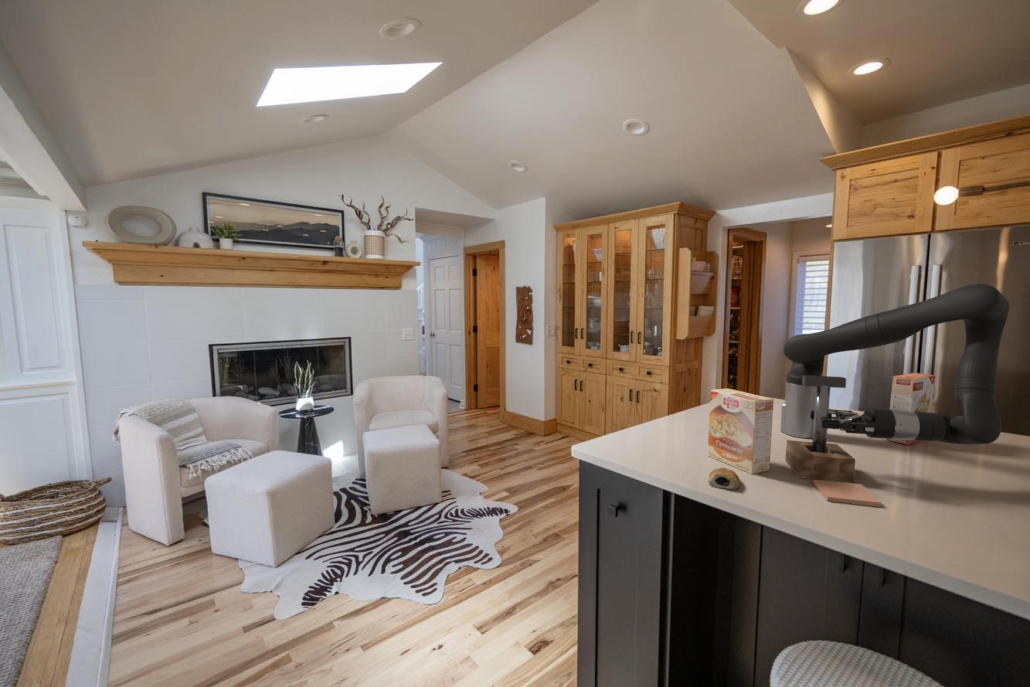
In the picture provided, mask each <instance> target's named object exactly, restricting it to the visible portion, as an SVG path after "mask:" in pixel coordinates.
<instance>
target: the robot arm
mask: <svg viewBox="0 0 1030 687" xmlns="http://www.w3.org/2000/svg"><path fill="white" fill-rule="evenodd" d="M1010 308H1011V307H1010V303H1009V300H1008V299H1007V298H1006V297H1005V295H1003V293H1002V292H1000V290H998V288H996V287H995V286H993V285H991V284H990V285H989V284H987V283H972V284H967V285H964V286H961V287H959V288H955V289H952V290H950V291H947V292H945V293H941V294H940V295H936V296H934V297H931V298H929V299H926V300H921V301H919V302H918V301H917V302H915V303H911V304H907V305H904V306H901V307H897V308H893V309H892V308H891V309H889V310H885V311H881V312H877V313H874V314H870V315H866V316H863V317H861V318H857V319H855V320H851V321H848V322H846V323H843V324H840V325H837V326H835V327H832V328H828V329H825V330H822V331H818V332H817V331H816V332H811V333H805V334H797V335H794V336H792V337H790V338H789V339H788V340H787V341H786V342H785V344H784V346H783V354H784V357H785V358H787V359H788V360H789V361H791V362H792V365H791V367H790V369H789V371H788V372H787V374H786V383H785V396H784V397H785V398H784V399H785V400H784V403H782V404H781V416H780V418H781V419H780V432H782V433H784V434H786V435H789V436H791V437H796V438H801V439H802V438H803V439H811V438H812V439H813V428H814V413H815V398H816V387H814V386H804V385H802V377H803V375H807V376H823V373H824V364H825V356H828V355H829V356H830V355H832V354H836V353H843V352H850V351H860V350H865V349H866V350H867V349H870V348H871V349H872V348H878V347H881V346H887V345H890V344H895V343H899V342H901V341H903V340H906V339H908V338H910V337H912V336H914V335H915V334H917V333H918V332H921V331H923V330H925V329H927V328H928V327H932V326H935V325H940V324H944V323H948V322H949V323H950V322H953V321H961V320H962V321H963V324H964V330H965V345H964V349H963V352H962V355H961V357H960V360H959V362H958V365H957V368H956V372H955V373H956V375H955V383H954V384H955V385H954V399H955V401H956V402H957V403H959V404H961V405H962V408H963V414H961V415H946V414H945V415H944V414H942V415H941V414H938V413H936V412H932V411H931V412H917V411H907V410H900V409H890V408H883V407H882V408H881V407H880V408H879V407H868V408H865V410H864V411H863V414H859V413H858V412H855V411H852V410H847V409H846V410H843V409H831V408H829V413H828V419H822V420H821V427H822V428H827V430H828V429H829V430H839V431H841V432H845V433H846V434H858V435H859V434H860V435H865V436H866V437H868V438H872V439H882V440H883V439H885V440H887V439H895V440H921V441H926V442H941V443H948V444H954V445H970V446H971V445H986V444H992V443H994V442H995V441H996V440H998V439H999V437H1000V435H1001V432H1002V419H1001V415H1000V412H999V408H998V404H997V401H996V393H997V392H996V390H997V374H998V372H997V371H998V359H999V349H1000V345H1001V341H1002V336H1003V332H1004V329H1005V326H1006V324H1007V320H1008V316H1009V312H1010ZM833 415H835V416H833Z"/></svg>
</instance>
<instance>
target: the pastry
mask: <svg viewBox="0 0 1030 687" xmlns="http://www.w3.org/2000/svg"><path fill="white" fill-rule="evenodd" d="M707 482H708V484H709V485H710V486H711V487H713V488H718V489H725V490H729V489H730V490H736V489H738V488H739V487H740V477H739V475H738V474H737V473H736V472H735V471H734V470H732V469H728V468H726V467H720V468H715V469H713V470H712V471H711V472H710V473H709V475H708V480H707Z"/></svg>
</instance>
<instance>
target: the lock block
mask: <svg viewBox="0 0 1030 687" xmlns="http://www.w3.org/2000/svg"><path fill="white" fill-rule="evenodd" d="M812 442H813V441H803V440H802V441H801V440H790V439H789V440H788V439H786V446H785V447H786V448H785V462H786V464H787V465H788V467H789V468H790V469H791V470H792V471H793V473H794V474H795V475H796V477H797V478H800V479H809V480H822V481H832V482H842V483H852V484H855V483H854V482H855V480H854V479H855V471H856V470H855V469H856V459H855V458H854V457H853V456H851V454H850V453H849V452H848V451H846V450H845V449H843V448H842V447H841V446H840V445H839V444H838V443H829V442H828V443H827V442H826V453H819V452H812Z"/></svg>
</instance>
